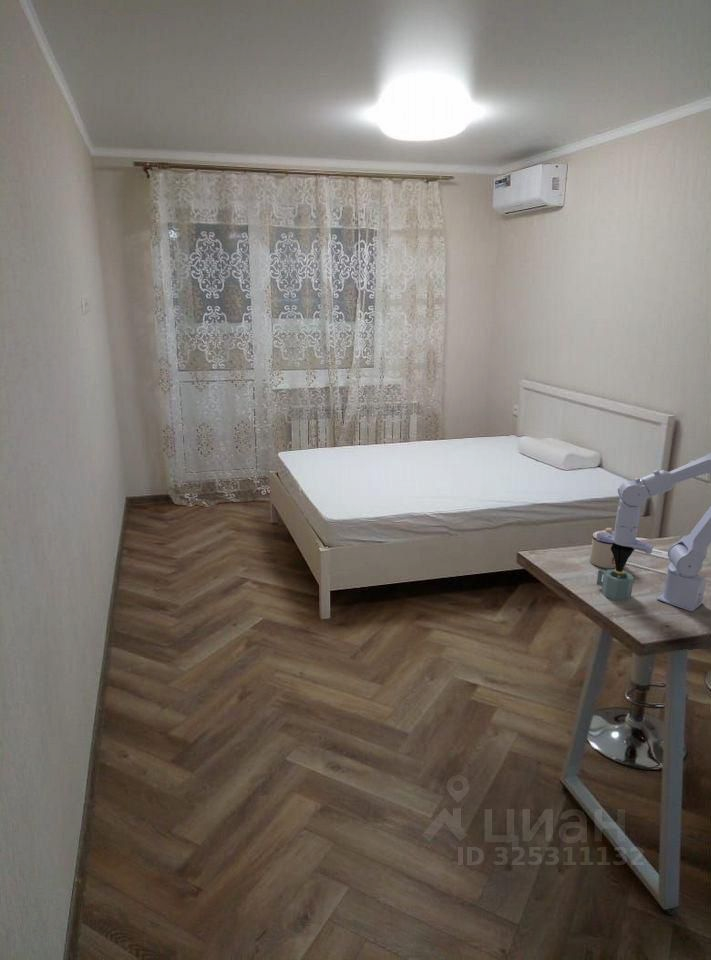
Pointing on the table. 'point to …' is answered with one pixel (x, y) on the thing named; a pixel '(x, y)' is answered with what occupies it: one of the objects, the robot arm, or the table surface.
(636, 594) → the table surface
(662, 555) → the photo frame
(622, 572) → the plunger
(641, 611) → the table surface
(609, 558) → the teacup with lid
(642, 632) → the table surface
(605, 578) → the tea press body
